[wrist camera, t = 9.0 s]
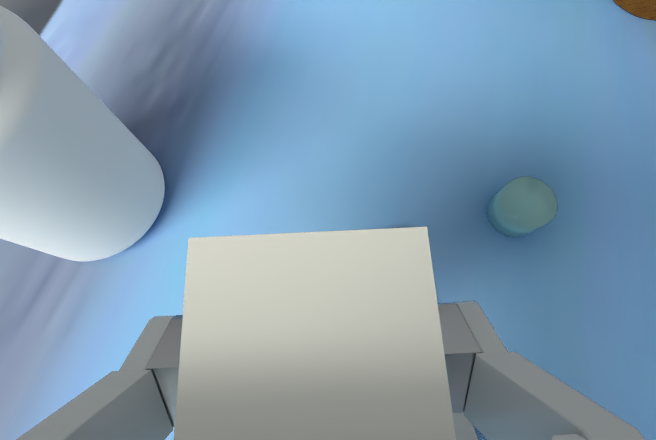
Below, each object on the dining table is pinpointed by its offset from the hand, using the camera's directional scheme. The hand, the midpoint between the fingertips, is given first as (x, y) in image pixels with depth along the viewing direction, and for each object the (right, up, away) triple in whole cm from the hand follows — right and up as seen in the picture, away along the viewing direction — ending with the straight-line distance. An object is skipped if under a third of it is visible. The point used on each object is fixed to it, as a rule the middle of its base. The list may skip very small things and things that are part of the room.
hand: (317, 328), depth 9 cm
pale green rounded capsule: (+12, +3, +13) cm, 18 cm away
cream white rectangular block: (0, -2, +4) cm, 4 cm away
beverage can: (-14, +4, +14) cm, 20 cm away
